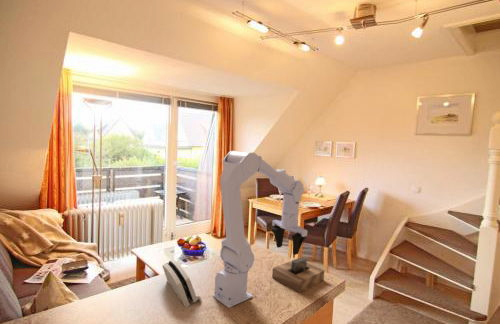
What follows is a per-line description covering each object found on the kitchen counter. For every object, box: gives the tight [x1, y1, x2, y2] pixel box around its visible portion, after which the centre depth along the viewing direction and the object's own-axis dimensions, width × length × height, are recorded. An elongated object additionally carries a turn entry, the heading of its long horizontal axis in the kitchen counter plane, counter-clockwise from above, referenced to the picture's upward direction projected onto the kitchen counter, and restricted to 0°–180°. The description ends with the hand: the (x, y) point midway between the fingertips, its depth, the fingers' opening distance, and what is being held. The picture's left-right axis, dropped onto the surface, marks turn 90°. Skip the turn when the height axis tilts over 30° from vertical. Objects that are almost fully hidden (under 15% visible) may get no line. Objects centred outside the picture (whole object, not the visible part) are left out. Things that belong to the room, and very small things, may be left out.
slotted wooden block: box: [271, 259, 325, 293], centre depth 98 cm, size 14×12×4 cm
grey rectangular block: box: [291, 256, 308, 275], centre depth 97 cm, size 6×2×7 cm, turn 133°
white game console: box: [161, 259, 203, 308], centre depth 84 cm, size 17×5×10 cm, turn 34°
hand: (287, 250), depth 99 cm, fingers open, 7 cm apart
